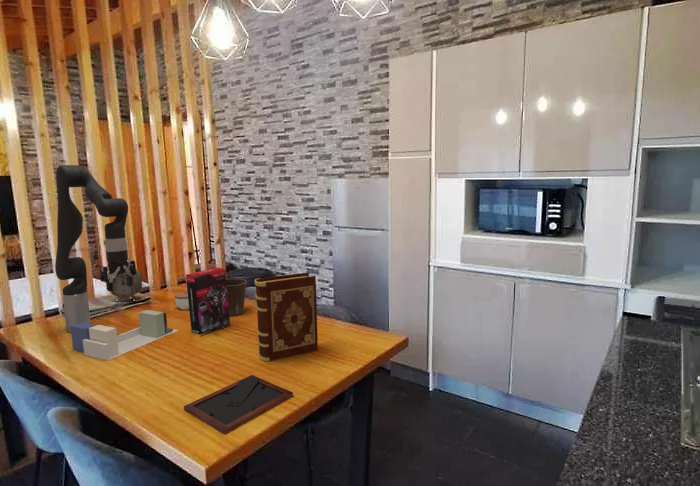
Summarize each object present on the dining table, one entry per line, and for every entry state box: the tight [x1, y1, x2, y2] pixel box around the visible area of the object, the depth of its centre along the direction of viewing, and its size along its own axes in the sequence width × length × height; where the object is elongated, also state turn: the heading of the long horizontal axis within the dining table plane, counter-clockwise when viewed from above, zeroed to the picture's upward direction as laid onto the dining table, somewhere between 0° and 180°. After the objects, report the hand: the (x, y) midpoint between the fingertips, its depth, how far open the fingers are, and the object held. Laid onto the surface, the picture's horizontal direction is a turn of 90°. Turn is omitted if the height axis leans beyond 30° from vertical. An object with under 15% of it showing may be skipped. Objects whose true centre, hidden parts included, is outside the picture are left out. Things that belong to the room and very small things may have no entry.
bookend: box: [151, 309, 174, 333], centre depth 185 cm, size 9×4×9 cm, turn 65°
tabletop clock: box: [111, 258, 143, 298], centre depth 238 cm, size 14×9×25 cm, turn 80°
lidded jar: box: [174, 290, 189, 311], centre depth 223 cm, size 11×11×9 cm
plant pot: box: [226, 278, 248, 317], centre depth 213 cm, size 16×16×16 cm
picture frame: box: [183, 374, 294, 435], centre depth 127 cm, size 20×2×25 cm
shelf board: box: [83, 326, 179, 361], centre depth 174 cm, size 13×34×7 cm, turn 155°
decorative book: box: [254, 272, 319, 362], centre depth 161 cm, size 22×8×30 cm, turn 117°
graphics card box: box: [185, 267, 231, 337], centre depth 187 cm, size 17×7×27 cm, turn 147°
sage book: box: [138, 309, 165, 339], centre depth 181 cm, size 10×4×10 cm, turn 65°
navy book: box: [70, 322, 96, 353], centre depth 167 cm, size 9×4×11 cm, turn 65°
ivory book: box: [89, 324, 119, 358], centre depth 161 cm, size 10×4×10 cm, turn 65°
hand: (120, 288), depth 169 cm, fingers open, 8 cm apart
